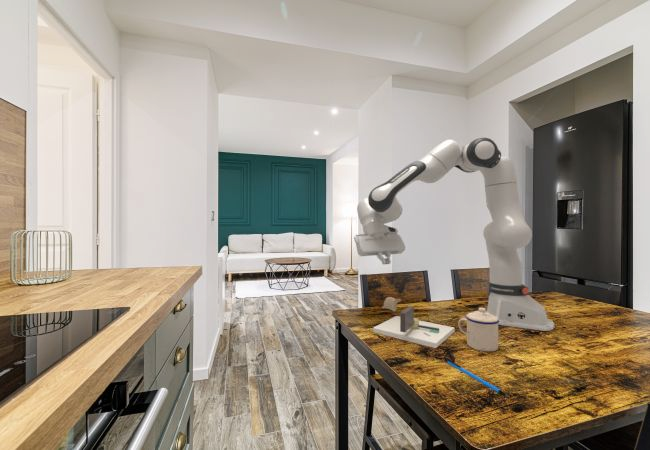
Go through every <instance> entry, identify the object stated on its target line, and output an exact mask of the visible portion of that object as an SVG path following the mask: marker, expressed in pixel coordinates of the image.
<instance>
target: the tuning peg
mask: <svg viewBox="0 0 650 450" xmlns="http://www.w3.org/2000/svg"><path fill="white" fill-rule="evenodd" d="M414 312H415V307H414V306H411V305H409V306H408V307H407V306H406V308H404V309H403V310H401V311H400V313H399V316H400V332H406V331H407V330H408V329H409V328H419V327H420V328H425V329H431V330H437V331H439V328H434V327H428V326H422V325H419V320H420V319H419V318H418V317H414V315H415V313H414Z"/></svg>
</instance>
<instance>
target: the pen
mask: <svg viewBox="0 0 650 450" xmlns="http://www.w3.org/2000/svg"><path fill="white" fill-rule="evenodd" d="M443 361H444V362H446V364H448V365H449V366H450V367H451V366H452V367H453V368H455V369H457V370H458V371H460V372H462V373H464V374H465V375H467V376H469V377H470V378H473V379H474V380H475V381H477V382H479V383H481V384H483V385H484V386H486V387H487V388H489V389H491V390H493V391H494V392H497V393H499V394H501V395H503V396H506V397H507V396H508V395H507V394H506V393H505V392H504V391H502V389H500V388H498V387H497V386H496V385H493V384H490V383H489V382H488V381H485V380H484V379H483V378H480V377H479V376H477V375H476V374H474V373H473V372H472V373H471V372H470V371H468V370H466V369H465V368H463V367H462V366H461V365H459V364H457V363H455V362H454V361H452V360H450V359H444V358H443Z"/></svg>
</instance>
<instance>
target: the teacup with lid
mask: <svg viewBox="0 0 650 450" xmlns="http://www.w3.org/2000/svg"><path fill="white" fill-rule="evenodd" d="M486 311H487V308H484V307H479V308H478V310H475V311H472V312H469V313H467V314H466V316H465V317H462V318H459V319H458V327H459V330H460V332H461V333H463V334H465V335H466V344H467V346H469V347H470V348H472V349H474V350H476V351H477V350H478V351H481V352H495V351H497V350H498V349H499V324H498V323H499V319H498V318H497V317H496V316H494V315H492V314H490V313H489V312H486ZM463 321H464V322H466V330H465V329H464V328H463V325H462V322H463Z"/></svg>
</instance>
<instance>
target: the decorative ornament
mask: <svg viewBox="0 0 650 450" xmlns="http://www.w3.org/2000/svg"><path fill="white" fill-rule="evenodd" d="M401 301H402V299H401V298H397V299H396V298H395V297H392V296H387V297H386V298H385V299H384V301H383V306H382V307H381V309H387V310H390V311H392V312H396V311H397V310H398V308H397V306H398V303H399V302H401Z"/></svg>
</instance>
